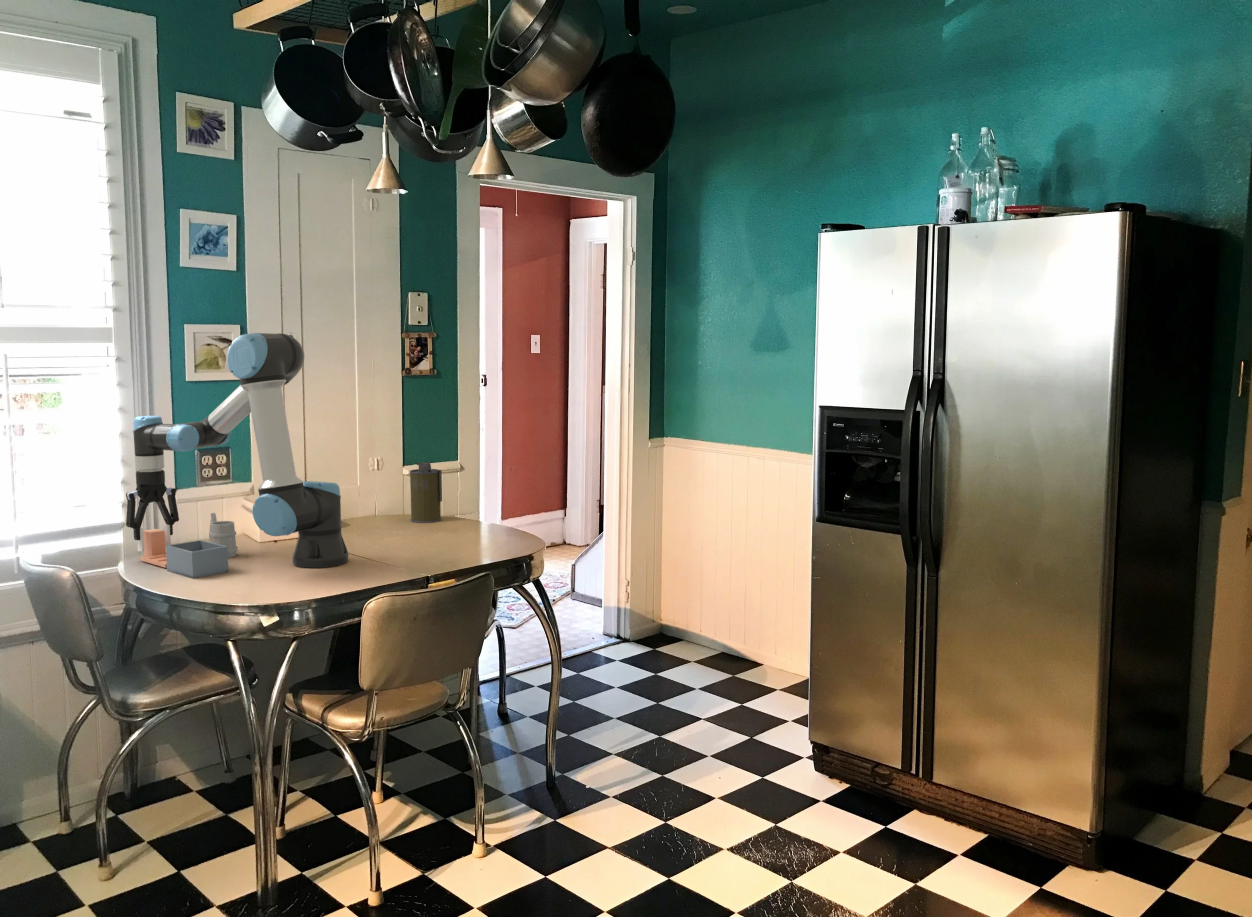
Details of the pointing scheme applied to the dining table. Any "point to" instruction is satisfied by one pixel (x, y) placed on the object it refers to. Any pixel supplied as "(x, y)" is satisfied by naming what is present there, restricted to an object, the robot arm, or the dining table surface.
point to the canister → (425, 494)
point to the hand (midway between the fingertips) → (154, 548)
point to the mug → (223, 534)
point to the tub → (197, 558)
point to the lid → (155, 547)
